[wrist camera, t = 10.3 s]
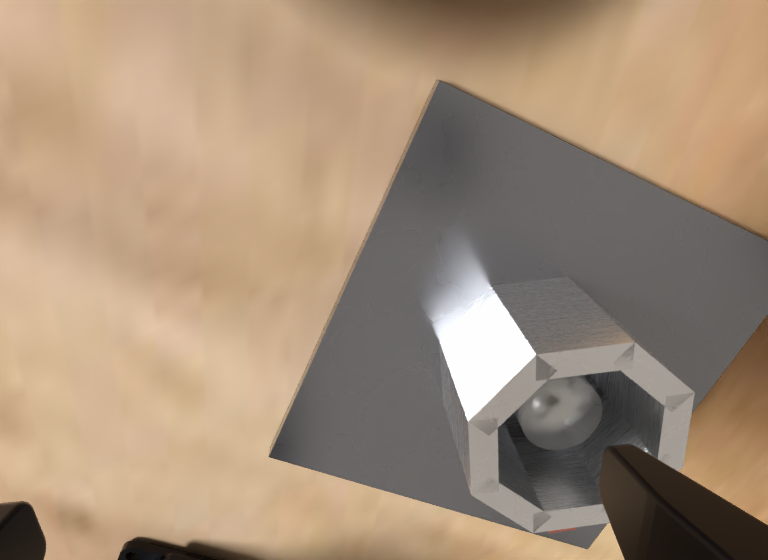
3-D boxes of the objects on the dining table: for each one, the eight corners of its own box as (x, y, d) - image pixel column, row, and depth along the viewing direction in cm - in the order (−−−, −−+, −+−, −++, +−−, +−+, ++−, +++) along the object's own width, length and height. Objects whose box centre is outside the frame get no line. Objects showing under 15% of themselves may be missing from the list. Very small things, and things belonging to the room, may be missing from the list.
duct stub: (582, 538, 26) (623, 619, 23) (270, 447, 23) (256, 524, 19) (796, 255, 21) (895, 298, 17) (436, 79, 18) (463, 85, 14)
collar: (620, 270, 20) (703, 333, 16) (605, 445, 23) (671, 541, 19) (436, 292, 20) (465, 363, 15) (447, 466, 23) (474, 568, 19)
